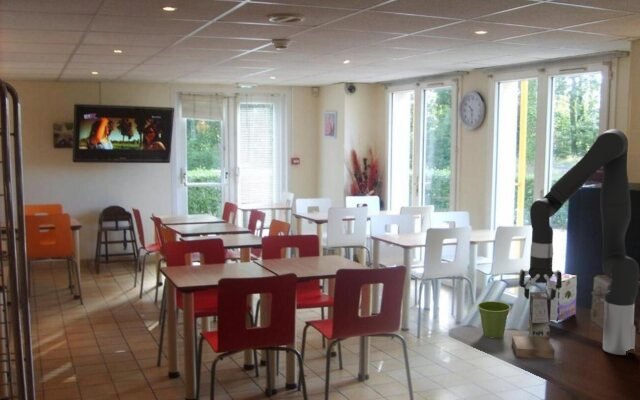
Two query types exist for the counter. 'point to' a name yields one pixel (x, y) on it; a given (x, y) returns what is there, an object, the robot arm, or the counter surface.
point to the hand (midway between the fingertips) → (539, 298)
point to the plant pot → (493, 317)
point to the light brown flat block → (533, 347)
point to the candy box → (563, 297)
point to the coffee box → (539, 314)
